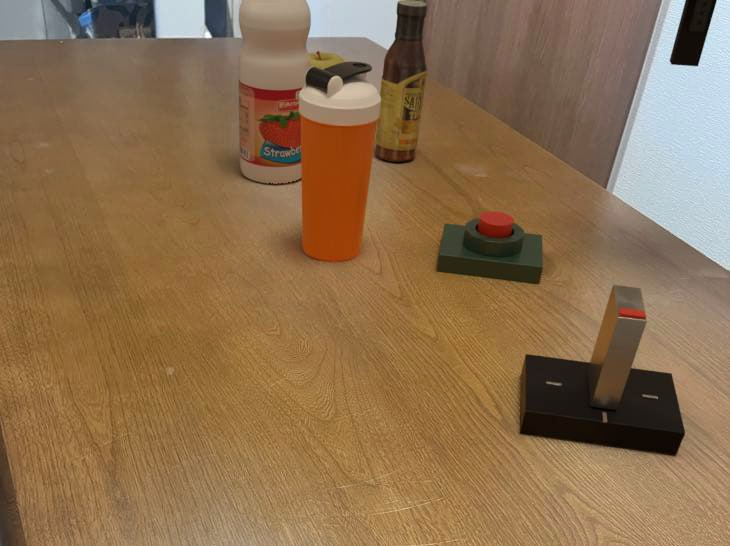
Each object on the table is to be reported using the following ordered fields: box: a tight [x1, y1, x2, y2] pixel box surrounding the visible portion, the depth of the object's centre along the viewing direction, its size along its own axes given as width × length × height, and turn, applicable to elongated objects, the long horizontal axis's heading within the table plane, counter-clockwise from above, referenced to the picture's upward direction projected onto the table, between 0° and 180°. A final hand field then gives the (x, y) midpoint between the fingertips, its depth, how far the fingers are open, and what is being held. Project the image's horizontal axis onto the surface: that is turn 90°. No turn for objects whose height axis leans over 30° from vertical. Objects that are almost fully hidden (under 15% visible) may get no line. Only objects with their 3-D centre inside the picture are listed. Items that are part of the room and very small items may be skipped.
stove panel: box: [519, 353, 686, 456], centre depth 81 cm, size 14×10×3 cm
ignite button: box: [477, 211, 515, 238], centre depth 102 cm, size 4×4×2 cm
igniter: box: [436, 217, 544, 285], centre depth 104 cm, size 12×9×4 cm
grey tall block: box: [587, 284, 648, 410], centre depth 77 cm, size 6×2×9 cm, turn 170°
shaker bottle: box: [298, 61, 381, 263], centre depth 99 cm, size 9×9×20 cm
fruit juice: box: [237, 0, 312, 185], centre depth 113 cm, size 9×9×28 cm
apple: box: [308, 50, 346, 70], centre depth 143 cm, size 10×10×8 cm
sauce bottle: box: [374, 0, 428, 162], centre depth 123 cm, size 7×6×20 cm
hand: (683, 63), depth 92 cm, fingers closed
